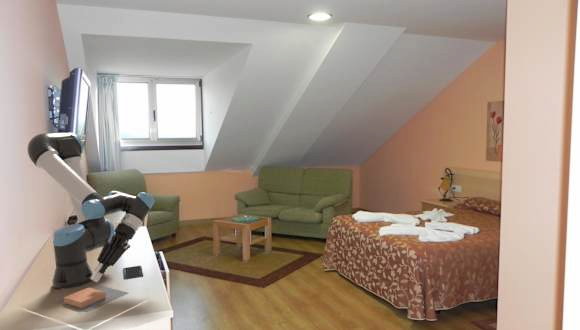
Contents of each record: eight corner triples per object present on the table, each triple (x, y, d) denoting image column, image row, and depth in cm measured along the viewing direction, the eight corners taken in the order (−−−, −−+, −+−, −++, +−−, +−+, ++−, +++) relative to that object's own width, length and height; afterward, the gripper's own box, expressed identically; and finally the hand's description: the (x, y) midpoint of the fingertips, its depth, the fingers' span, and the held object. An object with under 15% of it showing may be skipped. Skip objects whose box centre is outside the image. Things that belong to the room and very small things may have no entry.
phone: (123, 279, 177) (122, 268, 191) (123, 282, 177) (123, 270, 191) (143, 276, 180) (141, 265, 194) (143, 278, 180) (141, 267, 194)
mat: (55, 303, 157) (55, 302, 157) (99, 286, 172) (98, 284, 172) (86, 313, 148) (86, 312, 148) (129, 294, 163) (129, 292, 163)
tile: (89, 293, 164) (64, 303, 155) (88, 287, 164) (63, 297, 155) (106, 298, 159) (81, 308, 150) (105, 291, 159) (80, 302, 150)
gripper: (111, 220, 174) (76, 273, 161) (132, 223, 167) (97, 279, 154) (123, 230, 179) (90, 281, 166) (144, 233, 172) (111, 288, 160)
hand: (93, 280), depth 160 cm, fingers closed
